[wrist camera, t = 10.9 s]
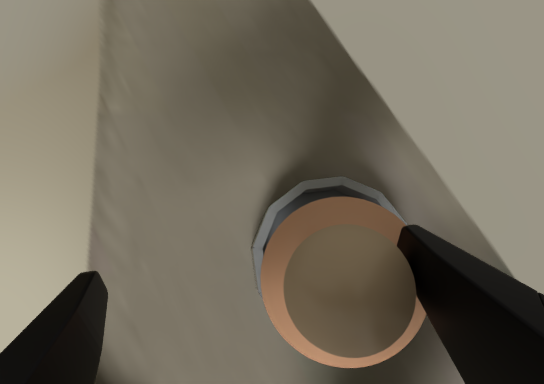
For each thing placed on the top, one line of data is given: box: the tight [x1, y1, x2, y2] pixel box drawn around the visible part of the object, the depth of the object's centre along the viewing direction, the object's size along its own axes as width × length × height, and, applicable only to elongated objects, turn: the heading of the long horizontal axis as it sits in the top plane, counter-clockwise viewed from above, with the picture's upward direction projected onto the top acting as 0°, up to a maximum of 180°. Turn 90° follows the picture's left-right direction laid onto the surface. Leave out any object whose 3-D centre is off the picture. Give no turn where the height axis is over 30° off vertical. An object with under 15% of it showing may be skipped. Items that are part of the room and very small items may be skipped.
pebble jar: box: [260, 197, 426, 368], centre depth 15 cm, size 6×6×12 cm
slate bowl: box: [251, 176, 407, 299], centre depth 22 cm, size 10×10×2 cm
